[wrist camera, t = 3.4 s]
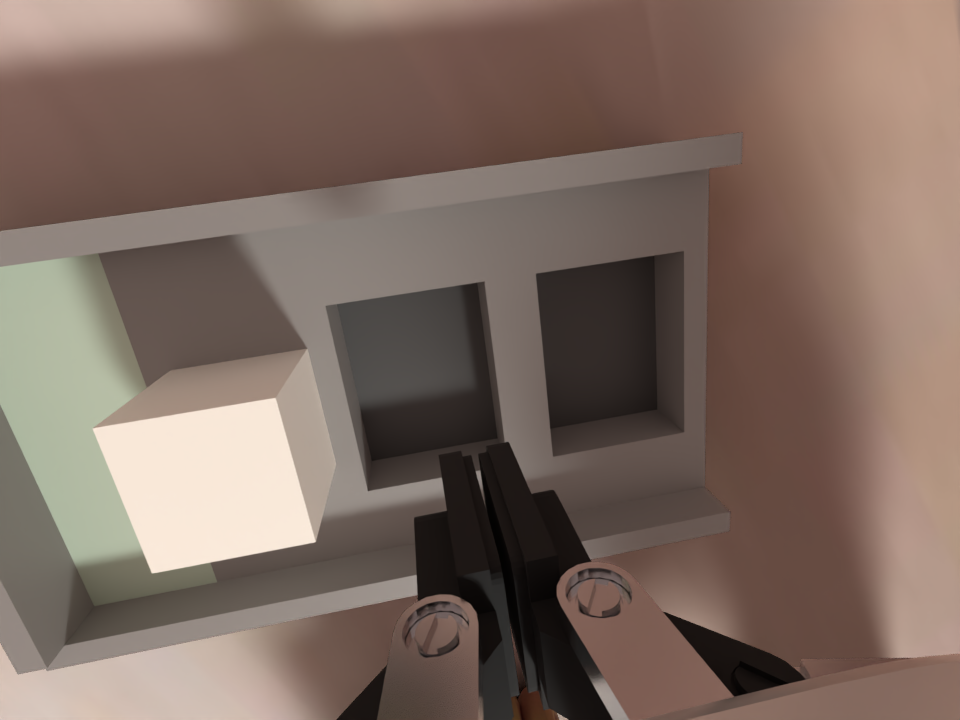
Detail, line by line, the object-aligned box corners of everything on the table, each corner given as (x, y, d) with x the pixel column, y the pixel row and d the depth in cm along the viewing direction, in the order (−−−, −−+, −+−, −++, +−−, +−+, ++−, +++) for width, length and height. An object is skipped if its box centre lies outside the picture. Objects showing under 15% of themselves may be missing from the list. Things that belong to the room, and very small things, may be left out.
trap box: (670, 145, 22) (762, 128, 16) (673, 472, 27) (743, 546, 21) (-34, 239, 19) (-214, 258, 14) (116, 579, 25) (29, 694, 19)
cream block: (307, 348, 19) (275, 397, 15) (336, 464, 21) (315, 542, 16) (170, 370, 19) (92, 428, 14) (210, 486, 21) (151, 573, 16)
